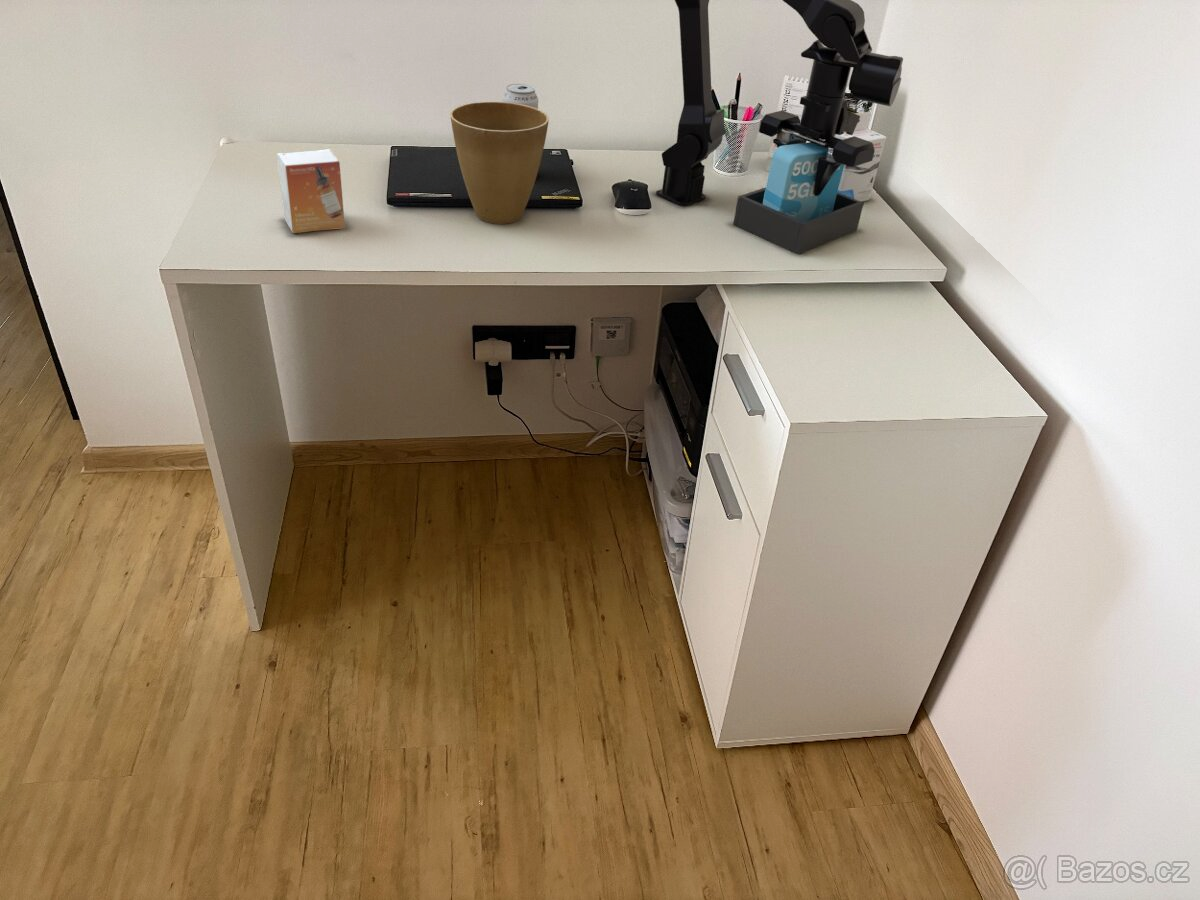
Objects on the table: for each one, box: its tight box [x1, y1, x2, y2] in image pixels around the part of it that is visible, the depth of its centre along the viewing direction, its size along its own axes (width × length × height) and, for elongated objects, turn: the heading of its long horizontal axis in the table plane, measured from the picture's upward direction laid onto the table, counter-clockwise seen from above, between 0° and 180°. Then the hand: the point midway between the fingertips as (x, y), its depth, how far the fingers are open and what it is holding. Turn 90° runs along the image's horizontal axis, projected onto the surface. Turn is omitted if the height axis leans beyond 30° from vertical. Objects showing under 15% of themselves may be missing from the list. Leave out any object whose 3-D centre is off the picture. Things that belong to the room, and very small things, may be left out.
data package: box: [763, 141, 844, 222], centre depth 149 cm, size 12×4×12 cm, turn 120°
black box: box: [732, 187, 865, 255], centre depth 153 cm, size 14×17×5 cm
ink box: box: [835, 111, 887, 202], centre depth 163 cm, size 8×5×15 cm, turn 123°
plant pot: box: [449, 101, 550, 225], centre depth 144 cm, size 15×15×16 cm
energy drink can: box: [502, 83, 539, 110], centre depth 159 cm, size 6×6×15 cm
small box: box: [276, 148, 346, 234], centre depth 137 cm, size 8×6×10 cm
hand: (803, 189), depth 150 cm, fingers closed on data package, 5 cm apart
